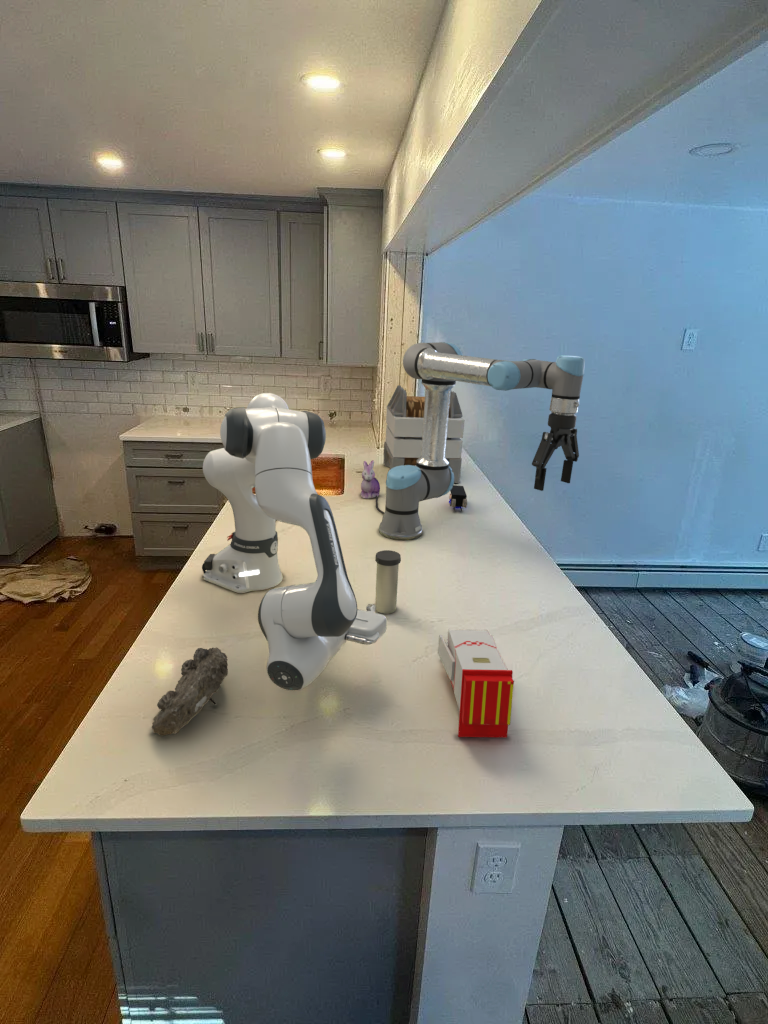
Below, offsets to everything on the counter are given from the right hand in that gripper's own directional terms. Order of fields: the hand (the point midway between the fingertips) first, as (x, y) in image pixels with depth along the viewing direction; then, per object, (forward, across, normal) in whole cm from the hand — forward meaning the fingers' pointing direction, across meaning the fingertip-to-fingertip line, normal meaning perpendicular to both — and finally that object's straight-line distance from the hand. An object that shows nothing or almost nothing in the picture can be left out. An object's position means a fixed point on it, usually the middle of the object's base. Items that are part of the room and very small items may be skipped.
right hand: (552, 485), depth 166 cm
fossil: (+28, -107, +5) cm, 111 cm away
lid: (+13, -53, +11) cm, 56 cm away
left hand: (+15, -73, 0) cm, 74 cm away
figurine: (+28, +4, +87) cm, 92 cm away
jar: (+28, -53, +11) cm, 61 cm away
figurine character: (+28, +24, +56) cm, 67 cm away
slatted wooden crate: (+28, +46, +101) cm, 115 cm away
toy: (+28, -62, -26) cm, 72 cm away
